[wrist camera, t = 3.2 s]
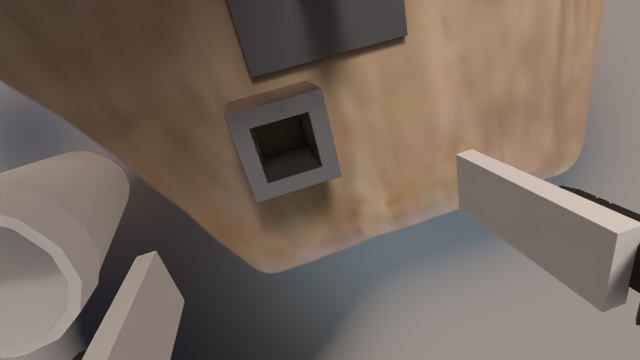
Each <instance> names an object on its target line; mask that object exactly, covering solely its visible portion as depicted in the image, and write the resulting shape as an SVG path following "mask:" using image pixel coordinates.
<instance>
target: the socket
mask: <svg viewBox="0 0 640 360" xmlns="http://www.w3.org/2000/svg"><path fill="white" fill-rule="evenodd" d="M299 114H300V115H301V119H302V123H303V127H304V130H305V134H306V138H307V142H308V145H307V146H304V147H301V148H297V149H294V150H291V151H288V152H284V153H281V154H278V155H274V156H271V157H268V158H263V155H262V152H261V150H260V147H259V144H258V141H257V138H256V135H255V132H254V129H253V128H254V127H258V126H261V125H265V124H268V123H271V122H275V121H278V120H282V119H285V118H289V117H292V116H296V115H299ZM224 117H225V119H226V122H227V125H228V127H229V130H230V133H231V136H232V138H233V141H234V144H235V146H236V149H237V152H238V154H239V157H240V160H241V162H242V165H243V168H244V170H245V173H246V176H247V178H248V181H249V184H250V186H251V189H252V192H253V195H254V197H255V200H256V203H259V202H262V201H265V200H268V199H271V198H275V197H278V196H281V195H284V194H287V193H290V192H294V191H297V190H300V189H303V188H306V187H309V186H313V185H316V184H319V183H322V182H325V181H328V180H332V179H335V178H338V177H341V171H340V167H339V163H338V158H337V154H336V149H335V145H334V141H333V136H332V132H331V128H330V123H329V119H328V115H327V110H326V106H325V101H324V97H323V93H322V89H321V88H319V87H317V86H315V85H313V84H312V83H310V82H308V81H304V82H301V83H297V84H294V85H290V86H286V87H283V88H279V89H276V90H272V91H269V92H265V93H261V94H258V95H254V96H251V97H247V98H244V99H240V100H236V101H233V102H229V103H228V106H227V109H226V113H225V116H224Z"/></svg>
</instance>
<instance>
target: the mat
mask: <svg viewBox="0 0 640 360" xmlns="http://www.w3.org/2000/svg"><path fill="white" fill-rule="evenodd" d="M227 3H228V6H229V9H230V12H231V15H232V19H233V22H234V25H235V28H236V31H237V34H238V37H239V41H240V44H241V47H242V50H243V53H244V56H245V59H246V63H247V66H248V69H249V72H250V75H251V78H252V77H256V76H260V75H263V74H267V73H271V72H274V71H278V70H282V69H285V68H289V67H292V66H296V65H300V64H303V63H307V62H311V61H314V60H318V59H322V58H325V57H329V56H333V55H336V54H340V53H344V52H347V51H351V50H355V49H358V48H362V47H366V46H369V45H373V44H377V43H380V42H384V41H388V40H391V39H395V38H399V37H402V36H406V35H408V34H407V25H406V16H405V6H404V0H227Z"/></svg>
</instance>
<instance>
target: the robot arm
mask: <svg viewBox="0 0 640 360" xmlns="http://www.w3.org/2000/svg"><path fill="white" fill-rule="evenodd" d="M456 161H457V178H458V195H459V208H461V209H462V210H464V211H465V212H466V213H468V214H469V215H470V216H472V217H473V218H475V219H476V220H477V221H478V222H480V223H481V224H483V225H484V226H485V227H487V228H488V229H490V230H491V231H492V232H493V233H495V234H496V235H498V236H499V237H500V238H502V239H503V240H504V241H506V242H507V243H508V244H510V245H511V246H513V247H514V248H515V249H517V250H518V251H519V252H521V253H522V254H523V255H525V256H526V257H528V258H529V259H530V260H532V261H533V262H534V263H536V264H537V265H539V266H540V267H541V268H543V269H544V270H545V271H547V272H548V273H550V274H551V275H552V276H554V277H555V278H556V279H558V280H559V281H560V282H562V283H563V284H564V285H566V286H567V287H569V288H570V289H571V290H573V291H574V292H575V293H577V294H578V295H579V296H581V297H582V298H584V299H585V300H586V301H588V302H589V303H590V304H592V305H593V306H594V307H596V308H597V309H599V310H600V311H601V312H605V311H607V310H610V309H612V308H615V307H617V306H620V305H622V304H625V303H626V299H627V295H628V291H629V287H631V288H632V289H634V290H636V291H637V292H639V293H640V215H639V214H637V213H635V212H632V211H630V210H628V209H625V208H623V207H620V206H618V205H616V204H613V203H612V204H610V203H609V202H608V201H606V200H603V199H601V198H596V196H594V195H591V194H589V193H586V192H584V191H581V190H579V189H574V188H569V187H565V186H555V185H553V184H551V183H548V182H546V181H544V180H541V179H539V178H537V177H535V176H532V175H530V174H528V173H525V172H523V171H521V170H518V169H516V168H514V167H511V166H509V165H507V164H505V163H502V162H500V161H498V160H495V159H493V158H491V157H488V156H486V155H484V154H482V153H479V152H477V151H475V150H472V149H471V150H468V151H465V152H462V153H459V154H456ZM183 305H184V299H183V297H182V295H181V294H180V292H179V290H178V288H177V287H176V285H175V283H174V281H173V279H172V278H171V276H170V274H169V272H168V271H167V269H166V267H165V265H164V264H163V262H162V260H161V258H160V257H159V255H158V253H157V252H156V251H153V252H150V253H147V254H144V255H141V256H138V257H136V259H135V261H134V263H133V264H132V266H131V268H130V270H129V272H128V274H127V276H126V278H125V279H124V282H123V283H122V285H121V287H120V289H119V291H118V293H117V294H116V297H115V298H114V300H113V302H112V304H111V306H110V308H109V310H108V312H107V313H106V315H105V317H104V319H103V321H102V323H101V325H100V327H99V328H98V330H97V332H96V334H95V336H94V338H93V340H92V342H91V344H90V345H89V347H88V349H87V350H85V351H82V352H79V353H78V354H77V355H76V356H75V357H74V359H73V360H170V358H171V354H172V350H173V346H174V341H175V338H176V334H177V330H178V326H179V322H180V317H181V314H182V309H183ZM636 325H640V305H639V308H638V312H637V316H636Z"/></svg>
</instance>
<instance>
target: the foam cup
mask: <svg viewBox="0 0 640 360" xmlns="http://www.w3.org/2000/svg"><path fill="white" fill-rule="evenodd" d="M129 189H130V184H129V182H128V179H127V177H126V175H125V173H124V171H123V170H122V169H121V168H120V167H119V166H118V165H117V164H115V163H114V162H113V161H112V160H111V159H110V158H108V157H105V156H102V155H100V154H97V153H94V152H92V151H70V152H68V153H67V152H66V153H63V154H60V155H56V156H54V157H50V158H47V159H43V160H40V161H37V162H34V163H31V164H27V165H24V166H21V167H18V168H15V169H11V170H8V171H5V172H2V173H0V359H2V358H10V357H18V356H24V355H26V354H28V353H30V352H32V351H35V350H37V349H38V348H41V347H43V346H45V345H47V344H49V343H51V342H53V341H55V340H58V339H59V338H60V337H61V336H62V335H63V333H64V332H65V331H66V330H67V328H68V327H69V326H70V325H71V323H72V322H73V321H74V320H75V318H76V317H77V316H78V315H79V313H80V312H81V310H82V309H83V307H84V306H85V304H86V302H87V301H88V299H89V297H90V296H91V294H92V293H93V291H94V289H95V288H96V286H97V285H98V280H99V271H100V268H101V266H102V263H103V261H104V258H105V256H106V253H107V251H108V248H109V246H110V244H111V241H112V239H113V236H114V234H115V231H116V229H117V227H118V224H119V221H120V219H121V217H122V214H123V212H124V209H125V207H126V204H127V200H128V199H129Z"/></svg>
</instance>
